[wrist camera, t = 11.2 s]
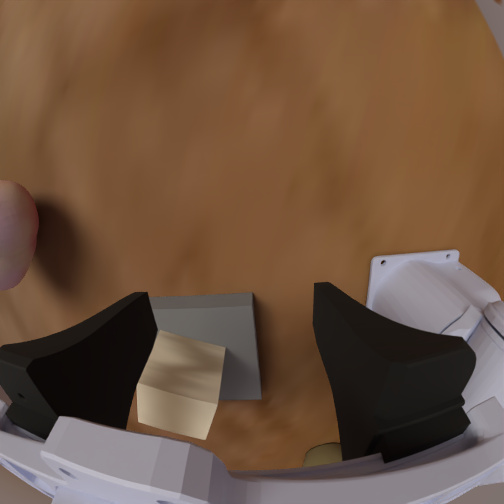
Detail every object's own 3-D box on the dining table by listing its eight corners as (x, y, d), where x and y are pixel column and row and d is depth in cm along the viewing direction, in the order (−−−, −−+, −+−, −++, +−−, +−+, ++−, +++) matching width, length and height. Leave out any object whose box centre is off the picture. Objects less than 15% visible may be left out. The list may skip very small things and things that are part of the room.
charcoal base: (252, 289, 22) (252, 305, 20) (261, 381, 26) (261, 399, 24) (129, 294, 23) (118, 309, 20) (160, 380, 27) (154, 396, 24)
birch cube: (225, 347, 21) (217, 404, 16) (213, 387, 23) (205, 439, 18) (160, 329, 21) (136, 382, 15) (156, 372, 23) (138, 421, 17)
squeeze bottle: (352, 432, 30) (377, 542, 13) (350, 454, 32) (369, 546, 16) (294, 445, 31) (303, 558, 14) (301, 465, 33) (309, 559, 16)
